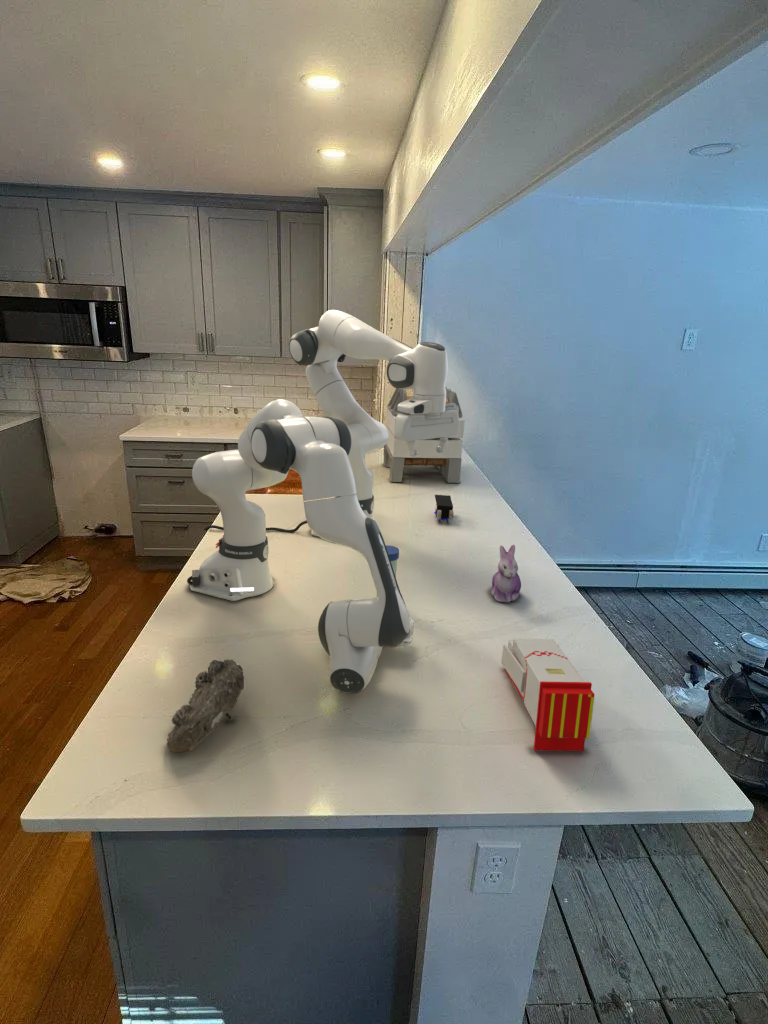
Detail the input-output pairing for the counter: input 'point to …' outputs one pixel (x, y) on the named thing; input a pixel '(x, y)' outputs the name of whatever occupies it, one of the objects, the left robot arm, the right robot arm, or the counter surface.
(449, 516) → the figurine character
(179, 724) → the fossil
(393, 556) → the lid
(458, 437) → the transformer
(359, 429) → the right robot arm
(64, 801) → the counter surface
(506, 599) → the figurine
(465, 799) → the counter surface
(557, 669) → the toy
